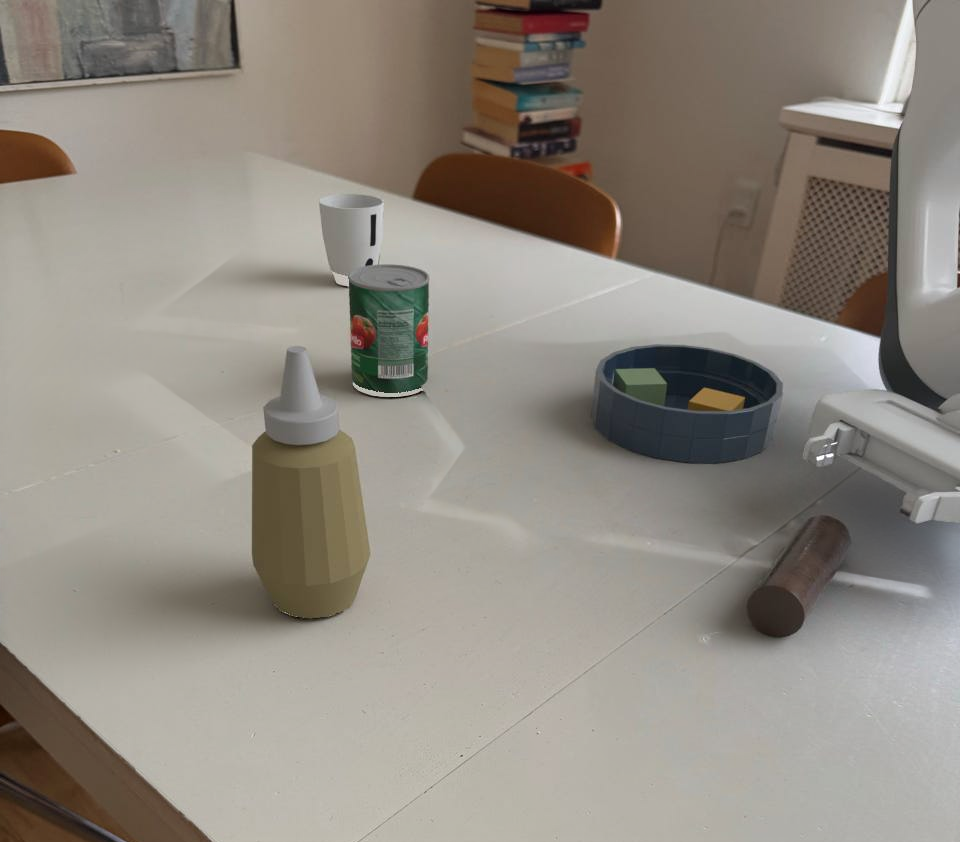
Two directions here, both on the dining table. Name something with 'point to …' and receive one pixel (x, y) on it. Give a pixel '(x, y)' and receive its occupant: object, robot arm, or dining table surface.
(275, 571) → the squeeze bottle
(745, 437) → the bowl
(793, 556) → the brown wooden dowel
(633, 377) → the block sage
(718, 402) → the block ochre
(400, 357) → the canned tomato
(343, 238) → the cup
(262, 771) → the dining table surface
